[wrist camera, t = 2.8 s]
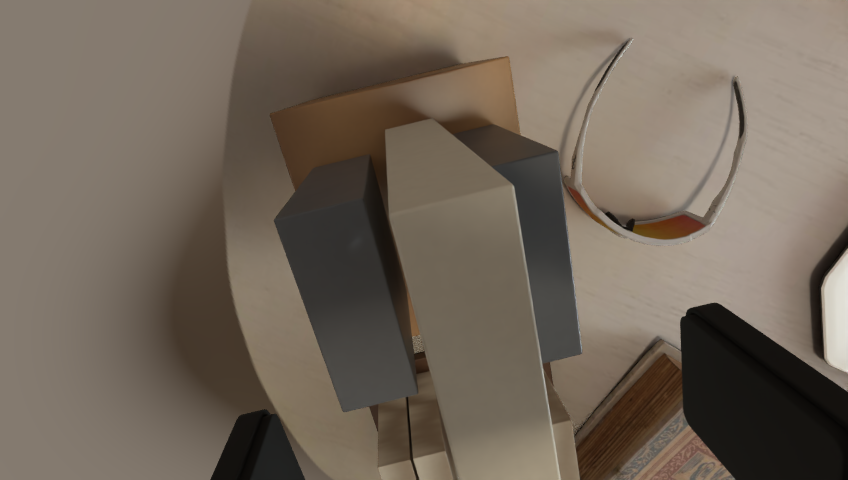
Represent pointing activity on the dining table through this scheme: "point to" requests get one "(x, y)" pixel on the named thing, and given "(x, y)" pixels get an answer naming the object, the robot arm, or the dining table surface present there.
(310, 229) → the pair of grey blocks
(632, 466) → the book
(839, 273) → the plate
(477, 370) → the white book
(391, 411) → the white books
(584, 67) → the dining table surface
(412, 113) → the wooden toaster block
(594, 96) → the sunglasses
